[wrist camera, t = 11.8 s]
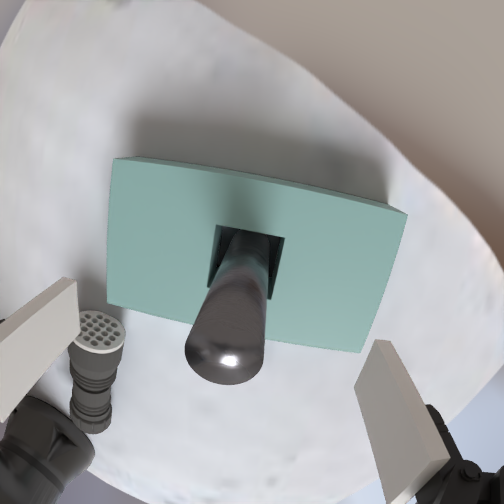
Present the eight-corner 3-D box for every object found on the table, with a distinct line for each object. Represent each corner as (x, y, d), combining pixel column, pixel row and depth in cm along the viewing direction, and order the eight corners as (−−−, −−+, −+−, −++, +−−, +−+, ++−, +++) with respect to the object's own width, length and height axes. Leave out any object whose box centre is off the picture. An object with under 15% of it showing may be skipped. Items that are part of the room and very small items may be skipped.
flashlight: (117, 416, 33) (101, 446, 28) (80, 397, 33) (61, 425, 28) (134, 326, 28) (110, 358, 23) (86, 303, 28) (57, 330, 23)
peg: (228, 260, 25) (182, 375, 12) (234, 223, 24) (187, 314, 11) (265, 267, 25) (255, 390, 12) (273, 231, 24) (270, 330, 11)
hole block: (127, 283, 27) (107, 302, 23) (136, 156, 23) (113, 158, 19) (350, 326, 26) (360, 353, 23) (388, 204, 23) (407, 214, 19)
